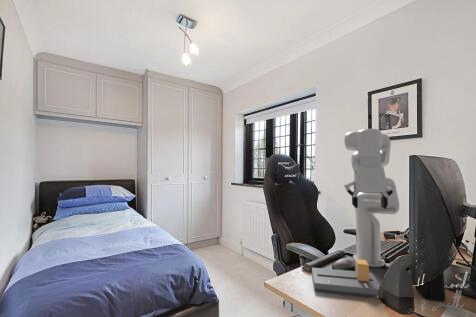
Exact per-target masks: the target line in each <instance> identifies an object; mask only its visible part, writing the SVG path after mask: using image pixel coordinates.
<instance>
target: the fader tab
mask: <svg viewBox="0 0 476 317" xmlns="http://www.w3.org/2000/svg"><path fill="white" fill-rule="evenodd" d="M354 265H355V267H354V268H355V270H354V271H355V275H356V277H357V279H358V281H367V282H369V272H370V267H369V264H368V263H367V261H366V260H360V259H355V261H354Z"/></svg>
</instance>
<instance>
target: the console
mask: <svg viewBox="0 0 476 317" xmlns="http://www.w3.org/2000/svg"><path fill="white" fill-rule="evenodd" d="M311 277H312V283H313V290H314V292H316V293H317V292H318V293H327V294H335V295H346V296H353V297H354V296H355V297H362V296H363V297H364V298H371V297H377V295H378V291H379V287H380V285H381V284H380V282H379V281H378V279H377V278H376V277H375V275H374V274H373V272H370V271H369V282H367V281H358V279H357V277H356V275H355V270H343V269H333V268H324V267H323V268H320V267H311ZM363 297H362V298H363Z"/></svg>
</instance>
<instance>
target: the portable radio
mask: <svg viewBox="0 0 476 317" xmlns="http://www.w3.org/2000/svg"><path fill="white" fill-rule="evenodd" d="M444 274H445V273H444V271H443V272H442V273H441V274H439V275H438V276H436V277H435V278H433V279H431V280H430V281H428V282H425V283H424V284H423V285H419V286H415V285H414V289H415V290H416V291H417V293H419V294H420V296H422V298H423V299H425V300H429V301H430V300H431V301H440V302H445V300H446V289H445V276H444Z"/></svg>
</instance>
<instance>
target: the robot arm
mask: <svg viewBox="0 0 476 317" xmlns="http://www.w3.org/2000/svg"><path fill="white" fill-rule="evenodd" d="M343 141H344V142H343V143H344V146H345V148H346V150H348V151H355V152H354V153H352V155H351V158H350V162H351V168H352V170H353V173H354V174H353V175H354V177H353V180H352V181H350V182H348V183H345V184H344V185H343V186H344V189H345V190H346V192H347V193H348V194H349V195H350V196H351V206H353V207H354V210H355V211H354V212H355V222H356V223H355V225H356V226H355V227H356V228H355V230H356V233H355V234H356V235H355V236H356V237H355V238H356V239H355V240H356V242H355V243H356V253H355V254H353V255H352V259H353V261H354V262H355V259H360V260H366V261H367V263H368V264H369V268H370V267H371V268H380V267H384V266H385V263H386V261H385V260H384V258H382V256H381V224H380V220H378V218H377V217H376V216H375V215H374V214H379V215H380V214H381V215H397V214H398V212H399V210H400V201H399V195H398V191H397V186H396V183H395V181H394V180H393V179H392V178H390V177H386V173H385V172H386V171H385V168H384V167H386V166H387V165H388V164H389V163H390V155H391V154H390V153H391V139H390V136H388V135H387V134H385V133H382V132H381V131H380V129H377V128H365V129H364V128H363V129H360V130H358V131H357V130H355V131H348V132H346V134H345V136H344V140H343ZM350 187H353V189H354V190H351V188H350ZM381 258H382V259H381Z"/></svg>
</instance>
